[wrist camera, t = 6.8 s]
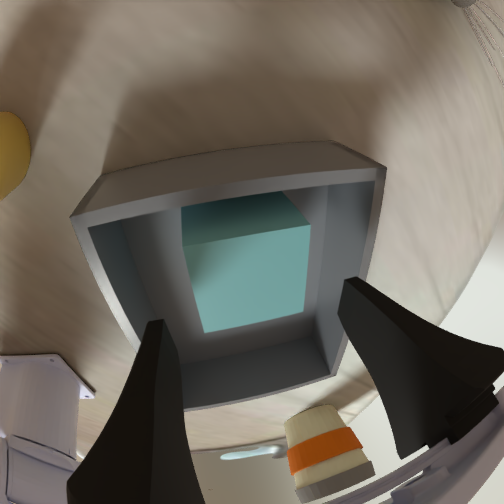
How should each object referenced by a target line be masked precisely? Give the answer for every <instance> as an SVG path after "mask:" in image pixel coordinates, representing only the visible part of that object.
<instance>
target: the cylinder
mask: <svg viewBox="0 0 504 504" xmlns="http://www.w3.org/2000/svg"><path fill="white" fill-rule="evenodd" d="M30 156H31V147H30V139H29V135H28V132H27V129H26V127H25V125H24V124H23V122H22V121H21V120H20V119H19V118H18V117H17V116H16V115H15V114H13V113H10V112H5V111H3V112H0V201H1V200H2V199H3V198H5V197H6V196H7V195H8V194H9V193H10V192H11V191H13V190H14V189H15V188H16V187H17V186H18V185H19V184H20V183H21V182H22V180H23V179H24V177H25V175H26V173H27V170H28V167H29V163H30Z"/></svg>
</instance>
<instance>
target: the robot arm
mask: <svg viewBox="0 0 504 504" xmlns="http://www.w3.org/2000/svg"><path fill="white" fill-rule="evenodd" d="M337 315H338V317H339V319H340V322H341V324H342V326H343V328H344V330H345V333H346V335H347V336H348V338H349V340H350V341H351V343H352V345H353V346H354V348H355V350H356V351H357V353H358V355H359V356H360V358H361V360H362V361H363V363H364V365H365V366H366V368H367V370H368V371H369V373H370V375H371V377H372V379H373V381H374V383H375V385H376V387H377V390H378V392H379V394H380V397H381V399H382V402H383V405H384V407H385V410H386V413H387V415H388V419H389V422H390V425H391V428H392V432H393V436H394V440H395V444H396V449H397V453H398V455H399V457H400V459H401V460H402V459H404V458H406V457H407V456H409V455H411V454H412V453H414V452H416V451H417V450H419V449H421V448H422V447H424V446H425V445H428V447H429V450H427V451H426V452H424V453H423V454H421V455H420V456H418V457H417V458H415V459H414V460H412V461H410V462H409V463H407V464H405V465H404V466H402V467H400V468H398V469H397V470H395V471H393V472H391V473H390V474H388V475H386V476H384V477H382V478H380V479H378V480H376V481H374V482H372V483H370V484H368V485H366V486H364V487H362V488H360V489H357V490H355V491H353V492H351V493H348V494H346V495H343V496H341V497H338V498H336V499H333V500H331V501H328V502H325V503H323V504H363V503H365V502H367V501H369V500H371V499H373V498H375V497H377V496H379V495H381V494H383V493H385V492H387V491H389V490H391V489H393V488H394V487H396V486H398V485H400V484H401V483H403V482H405V481H406V480H408V479H410V478H411V477H413V476H414V475H416V474H417V473H419V472H420V471H422V470H423V473H422V474H421V475H419V476H417V477H415V478H413V479H411V480H409V481H407V482H405V483H404V484H402V485H401V486H399V487H398V488H396V489H395V490H393V491H392V492H391V498H390V499H388V500H385V501H383V502H381V503H379V504H467V503H468V502H469V501H470V500H471V499H472V498H473V496H474V495H475V494H476V493H477V492H478V490H479V489H480V488H481V487H482V486H483V484H484V483H485V482H486V480H487V479H488V478H489V477H490V475H491V474H492V472H493V471H494V470H495V468H496V467H497V466H498V464H499V463H500V461H501V460H502V458H503V457H504V386H503V387H502V388H501V389H500V390H499V391H498V392H497V393H496V394H495V395H494V394H493V391H494V390H495V387H494V385H493V383H494V382H495V380H496V379H497V378H498V377H499V376H500V375H501V374H502V373H503V372H504V350H503V349H502V348H499V347H495V346H490V345H486V344H482V343H478V342H475V341H471V340H469V339H466V338H463V337H460V336H458V335H455V334H453V333H450V332H448V331H445V330H444V329H441V328H439V327H437V326H435V325H433V324H431V323H430V322H428V321H426V320H424V319H422V318H420V317H419V316H417V315H415V314H414V313H412V312H410V311H409V310H407V309H405V308H404V307H402V306H401V305H399V304H398V303H396V302H395V301H393V300H392V299H390V298H389V297H387V296H386V295H384V294H383V293H381V292H380V291H378V290H377V289H375V288H374V287H373V286H371V285H370V284H368V283H367V282H365V281H364V280H362V279H360V278H359V277H357V276H355V277H351V278H348V279H344V283H343V288H342V293H341V298H340V302H339V307H338V311H337ZM0 363H1V364H2V368H1V371H0V436H1V437H0V504H13V503H16V504H205V501H204V498H203V495H202V493H201V489H200V487H199V483H198V480H197V477H196V473H195V470H194V466H193V462H192V458H191V454H190V449H189V445H188V440H187V435H186V430H185V422H184V409H183V394H182V377H181V369H180V362H179V356H178V350H177V348H176V346H175V343H174V341H173V339H172V337H171V334H170V332H169V330H168V327H167V325H166V323H165V320H164V319H159V320H153V321H148V323H147V325H146V328H145V331H144V334H143V337H142V340H141V344H140V346H139V349H138V352H137V355H136V358H135V360H134V363H133V366H132V369H131V371H130V374H129V376H128V379H127V381H126V383H125V386H124V388H123V391H122V393H121V395H120V397H119V400H118V402H117V404H116V406H115V408H114V410H113V412H112V414H111V416H110V418H109V420H108V421H107V423H106V425H105V427H104V429H103V430H102V432H101V434H100V435H99V437H98V439H97V440H96V442H95V443H94V445H93V446H92V448H91V449H90V451H89V452H88V454H87V455H86V457H85V458H84V460H83V461H82V462H78V461H76V444H77V422H78V408H79V399H90V398H95V393H94V392H93V391H92V390H91V389H90V388H89V387H88V386H87V385H86V384H85V383H84V382H83V381H82V380H81V379H80V378H79V377H78V376H77V375H76V374H75V373H74V372H73V371H72V369H71V368H70V367H69V366H68V365H67V364H66V363H65V362H64V360H63V359H62V358H61V357H60V356H59V355H57V354H46V355H22V356H0ZM10 501H11V502H13V503H11V502H10Z"/></svg>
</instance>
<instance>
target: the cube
mask: <svg viewBox="0 0 504 504" xmlns="http://www.w3.org/2000/svg"><path fill="white" fill-rule="evenodd" d="M181 227H182V248H183V252H184V256H185V260H186V265H187V269H188V273H189V277H190V281H191V285H192V289H193V293H194V296H195V300H196V304H197V308H198V311H199V315H200V319H201V322H202V326H203V329H204V333H208V332H213V331H218V330H224V329H229V328H234V327H238V326H243V325H248V324H253V323H257V322H262V321H266V320H271V319H275V318H279V317H284V316H288V315H292V314H296V313H300V312H303V309H304V299H305V290H306V279H307V268H308V256H309V243H310V229H311V224H310V223H309V222H308V221H307V220H306V219H305V217H304V216H303V215H302V214H301V213H300V212H299V210H298V209H297V208H296V207H295V206H294V205H293V203H292V202H291V201H290V200H289V199H288V198H287V197H286V195H285V194H284V193H283V192H282V191H275V192H268V193H261V194H254V195H248V196H241V197H235V198H229V199H223V200H217V201H211V202H205V203H199V204H194V205H189V206H183V207H181Z"/></svg>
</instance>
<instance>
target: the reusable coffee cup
mask: <svg viewBox="0 0 504 504" xmlns="http://www.w3.org/2000/svg"><path fill="white" fill-rule="evenodd" d="M284 427H285V432H286V437H287V442H288V447H289V450H288V451H287V456H288V460H289V466H290V471H291V475H294V477H295V483H296V488H297V490H295V492H296V494H297V496H298V497H299V500H300V501H301V503H302V504H303V503H307V502H310V501H313V500H316V499H319V498H322V497H325V496H328V495H331V494H333V493H336V492H339V491H341V490H344V489H346V488H349V487H351V486H353V485H355V484H358V483H360V482H362V481H364V480H366V479H368V478H370V477H372V476H374V475H375V472H374V468H373V465H372V462H371V461H369V460H368V459H367V457H366V456H365V454H364V453H363V451H362V450H361V449H362V448H363V446H362V445H361V443H360V442H359V440H358V439H357V437H356V436H355V434H354V432H353V431H352V429H351V428H350V427H347V426H346V425H345V423H344V422H343V420H342V419H341V417H340V416H339V414H338V412H337V411H336V409H335V408H334V406H333V405H321V406H317V407H314V408H311V409H308V410H306V411H303V412H301V413H299V414H297V415H295V416H293V417H291V418H290V419H288V420H287V421H286V422H285V424H284Z"/></svg>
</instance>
